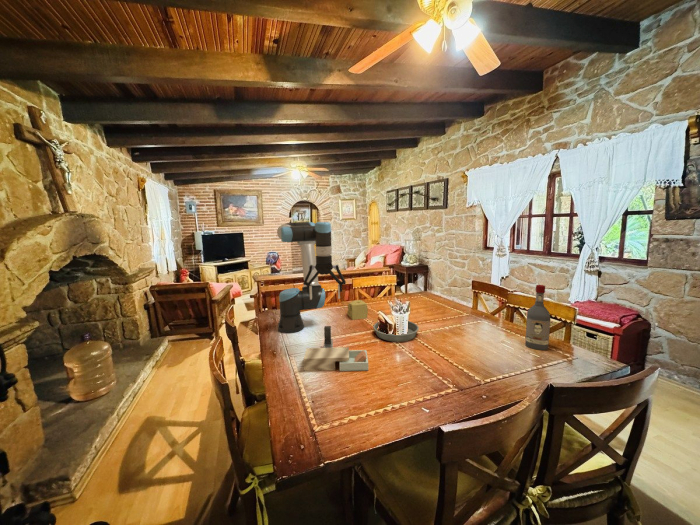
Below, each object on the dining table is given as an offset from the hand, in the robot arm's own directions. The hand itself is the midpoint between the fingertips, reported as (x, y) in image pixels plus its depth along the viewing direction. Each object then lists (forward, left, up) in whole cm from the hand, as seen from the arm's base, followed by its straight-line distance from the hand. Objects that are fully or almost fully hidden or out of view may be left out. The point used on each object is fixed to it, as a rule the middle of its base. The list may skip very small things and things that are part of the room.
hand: (325, 298), depth 140 cm
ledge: (+1, -17, -25) cm, 30 cm away
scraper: (+1, -3, -25) cm, 25 cm away
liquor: (+102, -4, -25) cm, 105 cm away
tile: (+15, -17, -22) cm, 32 cm away
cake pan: (+37, +16, -26) cm, 48 cm away
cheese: (+17, +46, -26) cm, 55 cm away
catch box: (+13, -17, -25) cm, 33 cm away
